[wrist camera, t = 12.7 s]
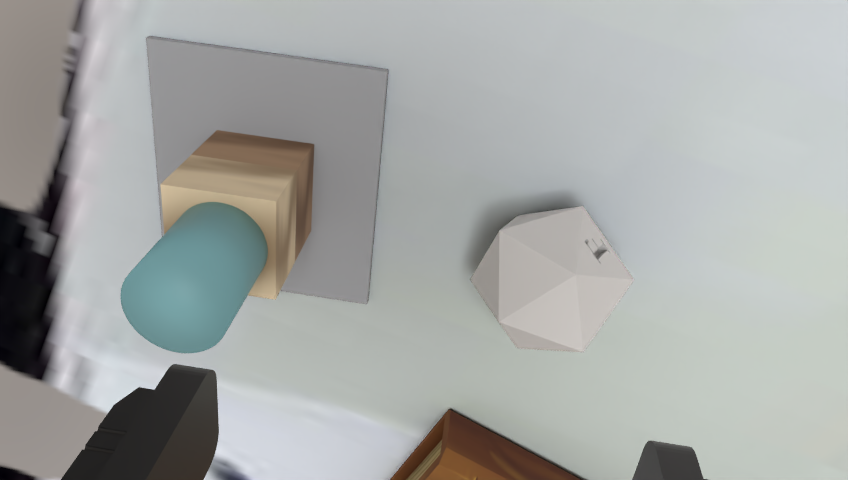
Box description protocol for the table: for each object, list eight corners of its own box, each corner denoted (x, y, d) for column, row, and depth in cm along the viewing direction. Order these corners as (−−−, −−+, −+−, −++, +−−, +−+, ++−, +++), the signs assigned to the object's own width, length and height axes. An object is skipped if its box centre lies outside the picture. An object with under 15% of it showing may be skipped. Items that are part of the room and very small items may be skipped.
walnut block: (216, 129, 43) (190, 154, 40) (314, 143, 43) (297, 170, 39) (219, 217, 46) (196, 247, 42) (311, 230, 46) (294, 262, 42)
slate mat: (149, 36, 41) (145, 37, 41) (388, 69, 41) (387, 71, 40) (168, 269, 49) (165, 273, 49) (368, 299, 48) (367, 304, 48)
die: (614, 298, 47) (683, 292, 38) (510, 374, 46) (555, 388, 36) (543, 196, 47) (595, 165, 38) (438, 269, 46) (464, 255, 36)
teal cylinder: (172, 195, 36) (115, 253, 31) (268, 209, 36) (227, 270, 31) (177, 277, 39) (125, 344, 33) (267, 291, 39) (229, 360, 33)
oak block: (191, 154, 40) (160, 184, 36) (297, 170, 39) (276, 201, 36) (196, 247, 42) (168, 283, 39) (294, 262, 42) (275, 299, 39)
